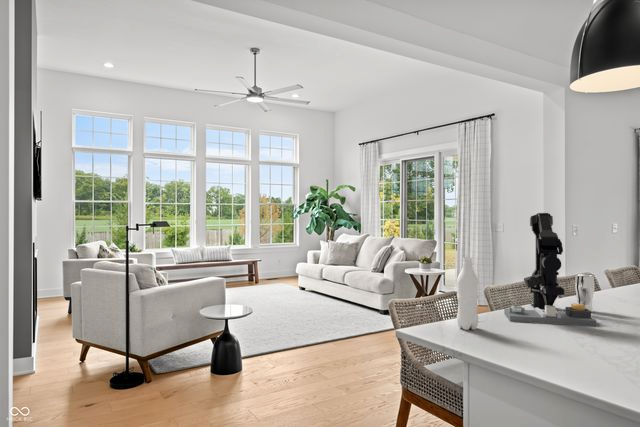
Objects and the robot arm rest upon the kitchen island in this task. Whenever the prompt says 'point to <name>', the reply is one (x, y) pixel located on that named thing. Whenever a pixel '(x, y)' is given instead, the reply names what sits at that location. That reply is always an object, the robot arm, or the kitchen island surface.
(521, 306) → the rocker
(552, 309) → the cream rectangular brick
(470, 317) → the water bottle
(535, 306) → the robot arm
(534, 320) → the panel
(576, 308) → the button
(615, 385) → the kitchen island surface
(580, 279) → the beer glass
